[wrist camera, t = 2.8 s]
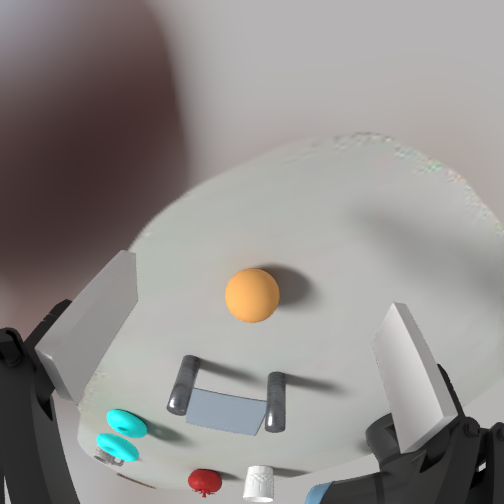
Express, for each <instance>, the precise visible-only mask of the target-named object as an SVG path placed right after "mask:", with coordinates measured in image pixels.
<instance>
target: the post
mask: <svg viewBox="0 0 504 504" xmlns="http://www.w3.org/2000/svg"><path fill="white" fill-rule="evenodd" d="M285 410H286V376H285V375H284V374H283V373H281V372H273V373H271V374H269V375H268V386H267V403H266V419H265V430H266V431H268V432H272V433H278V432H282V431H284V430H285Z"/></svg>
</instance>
